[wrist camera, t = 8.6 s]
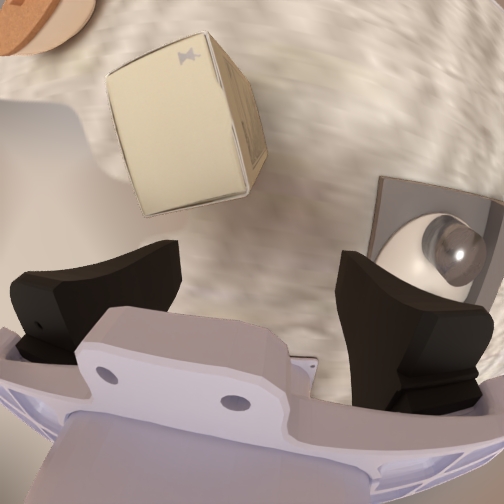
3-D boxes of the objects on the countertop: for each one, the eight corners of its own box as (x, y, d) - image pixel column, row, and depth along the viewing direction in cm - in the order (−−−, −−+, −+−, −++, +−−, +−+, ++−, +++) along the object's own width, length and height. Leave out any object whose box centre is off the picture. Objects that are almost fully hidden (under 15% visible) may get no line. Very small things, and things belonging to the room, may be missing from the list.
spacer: (454, 263, 20) (476, 286, 16) (416, 262, 20) (436, 287, 16) (465, 217, 18) (492, 234, 14) (427, 212, 18) (452, 230, 15)
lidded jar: (50, 79, 18) (-19, 80, 9) (36, 23, 14) (-20, 16, 6) (127, 10, 15) (62, -22, 6) (103, -39, 11) (52, -66, 3)
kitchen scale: (461, 332, 24) (471, 349, 21) (347, 336, 26) (351, 359, 23) (505, 202, 18) (524, 212, 15) (379, 176, 19) (394, 183, 16)
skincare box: (195, 96, 18) (98, 68, 7) (250, 80, 17) (206, 19, 6) (215, 173, 21) (139, 224, 10) (270, 160, 20) (252, 197, 9)
